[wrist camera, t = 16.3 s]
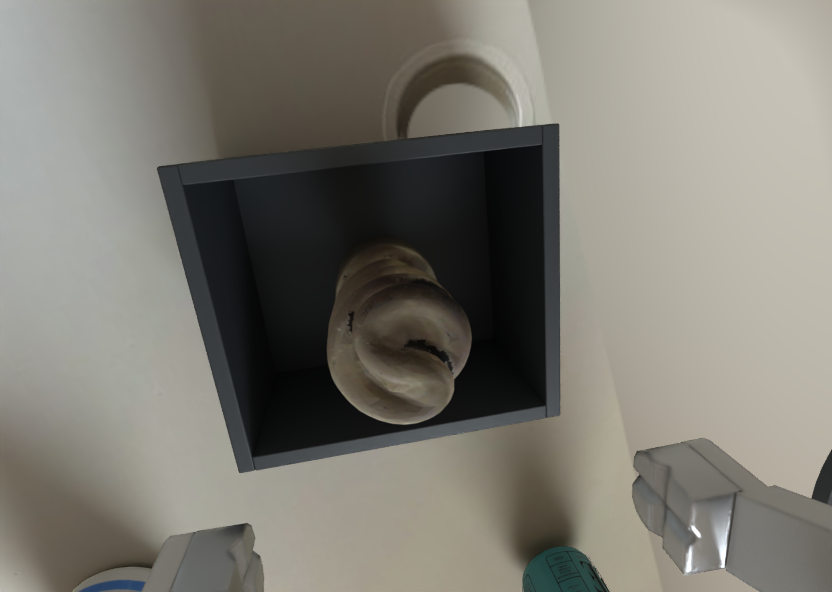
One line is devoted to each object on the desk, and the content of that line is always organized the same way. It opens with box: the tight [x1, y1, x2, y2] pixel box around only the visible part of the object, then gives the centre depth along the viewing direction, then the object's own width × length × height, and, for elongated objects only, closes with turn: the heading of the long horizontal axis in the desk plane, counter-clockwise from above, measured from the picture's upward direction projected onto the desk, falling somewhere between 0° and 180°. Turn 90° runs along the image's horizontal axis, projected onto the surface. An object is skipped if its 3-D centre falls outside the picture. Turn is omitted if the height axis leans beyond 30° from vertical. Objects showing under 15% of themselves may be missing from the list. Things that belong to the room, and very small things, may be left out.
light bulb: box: [327, 236, 472, 425], centre depth 23 cm, size 6×6×15 cm
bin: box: [157, 124, 560, 473], centre depth 26 cm, size 17×15×10 cm
